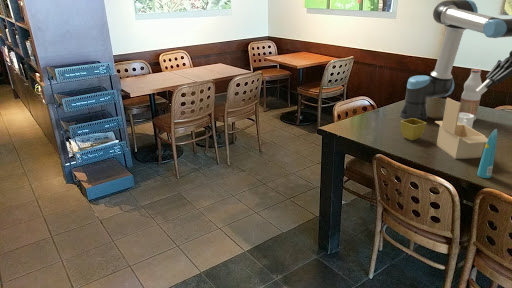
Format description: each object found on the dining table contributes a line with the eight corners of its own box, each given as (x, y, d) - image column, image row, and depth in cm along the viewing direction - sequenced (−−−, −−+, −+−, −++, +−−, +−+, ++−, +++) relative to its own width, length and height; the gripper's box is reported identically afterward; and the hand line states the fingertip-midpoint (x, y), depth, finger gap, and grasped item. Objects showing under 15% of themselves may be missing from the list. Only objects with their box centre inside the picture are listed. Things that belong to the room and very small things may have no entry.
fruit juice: (460, 120, 213) (469, 71, 203) (455, 115, 222) (464, 68, 211) (478, 121, 212) (489, 71, 201) (472, 116, 220) (482, 68, 210)
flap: (441, 127, 174) (446, 97, 169) (443, 127, 174) (448, 97, 169) (453, 134, 165) (459, 103, 160) (455, 134, 165) (461, 103, 160)
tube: (479, 170, 155) (489, 127, 148) (492, 174, 152) (503, 129, 145) (474, 177, 150) (485, 132, 143) (488, 181, 147) (499, 135, 140)
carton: (430, 140, 187) (433, 121, 183) (453, 139, 187) (457, 120, 184) (463, 165, 161) (467, 142, 157) (489, 163, 161) (495, 141, 157)
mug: (451, 129, 201) (455, 112, 197) (469, 131, 197) (473, 113, 194) (453, 137, 190) (456, 118, 187) (472, 139, 187) (476, 120, 184)
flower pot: (411, 142, 185) (414, 125, 181) (398, 137, 192) (400, 120, 188) (424, 139, 188) (427, 122, 185) (410, 134, 196) (412, 117, 192)
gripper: (508, 43, 163) (465, 83, 169) (530, 47, 151) (482, 90, 157) (518, 55, 165) (474, 94, 171) (540, 60, 153) (492, 102, 159)
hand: (478, 92), depth 164 cm, fingers closed
